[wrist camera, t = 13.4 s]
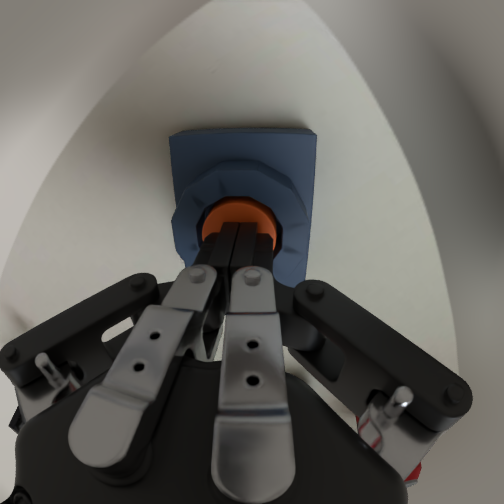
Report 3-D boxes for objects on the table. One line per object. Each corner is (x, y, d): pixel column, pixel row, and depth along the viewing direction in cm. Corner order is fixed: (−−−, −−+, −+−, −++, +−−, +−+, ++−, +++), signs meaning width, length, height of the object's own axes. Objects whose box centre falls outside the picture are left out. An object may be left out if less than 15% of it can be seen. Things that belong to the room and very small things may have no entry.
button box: (181, 130, 14) (153, 142, 11) (310, 129, 14) (323, 140, 10) (196, 267, 19) (180, 306, 15) (301, 270, 18) (306, 312, 15)
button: (206, 190, 13) (198, 203, 12) (276, 190, 13) (277, 204, 12) (212, 249, 15) (205, 268, 14) (275, 251, 15) (275, 270, 13)
